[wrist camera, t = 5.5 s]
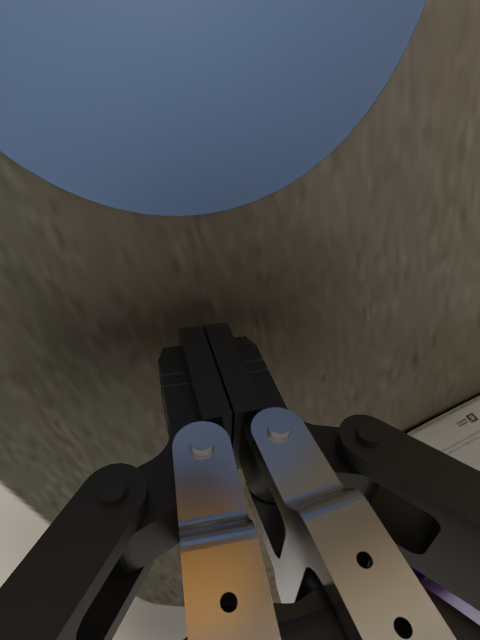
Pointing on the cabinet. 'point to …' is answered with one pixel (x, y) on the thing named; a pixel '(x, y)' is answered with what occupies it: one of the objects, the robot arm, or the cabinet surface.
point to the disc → (189, 93)
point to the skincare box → (455, 433)
